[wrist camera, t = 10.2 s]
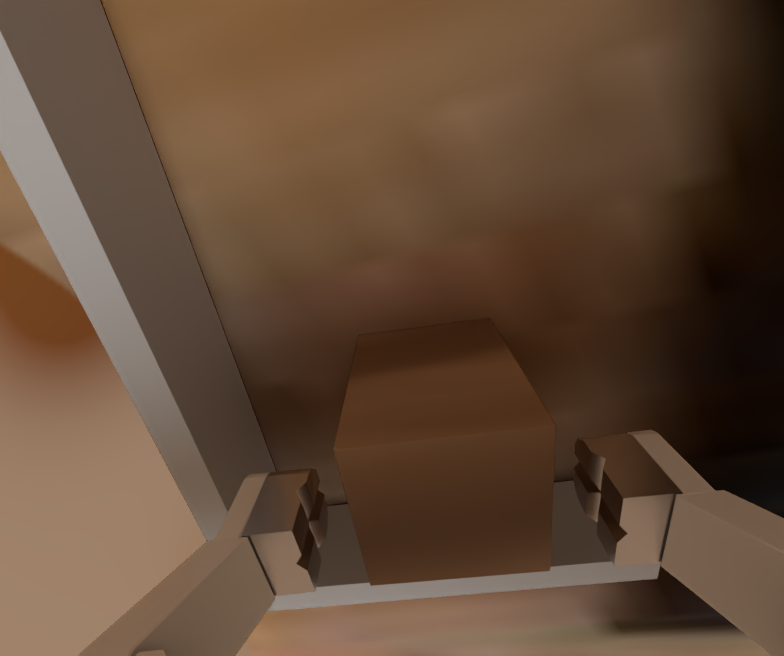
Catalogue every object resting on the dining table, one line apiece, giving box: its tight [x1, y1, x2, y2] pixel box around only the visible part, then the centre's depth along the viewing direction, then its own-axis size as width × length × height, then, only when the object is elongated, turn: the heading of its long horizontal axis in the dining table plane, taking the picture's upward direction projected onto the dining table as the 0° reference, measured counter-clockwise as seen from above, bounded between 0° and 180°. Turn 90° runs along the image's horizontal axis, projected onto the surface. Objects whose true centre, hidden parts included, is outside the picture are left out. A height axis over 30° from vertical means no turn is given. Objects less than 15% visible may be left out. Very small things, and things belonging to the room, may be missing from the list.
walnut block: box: [333, 318, 556, 586], centre depth 10 cm, size 4×4×5 cm
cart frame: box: [0, 0, 660, 611], centre depth 8 cm, size 25×13×3 cm, turn 9°
